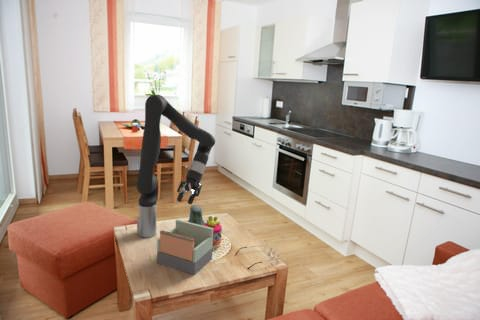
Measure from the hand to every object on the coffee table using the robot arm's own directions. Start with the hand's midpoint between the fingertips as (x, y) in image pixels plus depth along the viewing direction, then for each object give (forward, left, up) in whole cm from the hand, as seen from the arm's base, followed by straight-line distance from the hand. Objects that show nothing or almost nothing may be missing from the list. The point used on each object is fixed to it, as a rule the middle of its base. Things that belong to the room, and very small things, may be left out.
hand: (183, 202), depth 164 cm
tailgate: (+7, -16, -19) cm, 26 cm away
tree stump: (-8, +24, -26) cm, 36 cm away
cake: (+10, +12, -26) cm, 30 cm away
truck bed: (+7, -8, -26) cm, 27 cm away
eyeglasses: (+36, +12, -26) cm, 46 cm away
